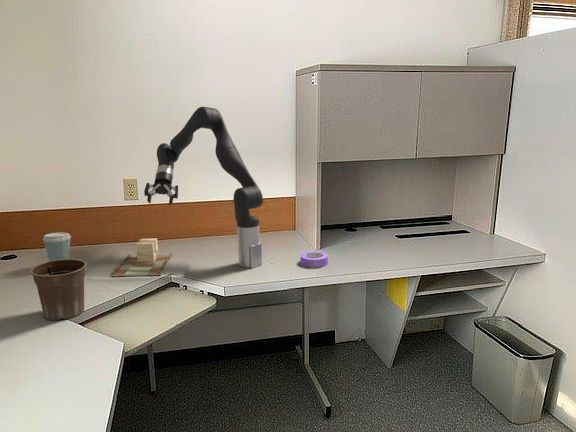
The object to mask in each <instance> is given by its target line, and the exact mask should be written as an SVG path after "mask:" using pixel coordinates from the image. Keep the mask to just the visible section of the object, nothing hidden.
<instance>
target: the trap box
mask: <svg viewBox="0 0 576 432" xmlns="http://www.w3.org/2000/svg"><path fill="white" fill-rule="evenodd" d="M172 256H173V253H169V255H165V254H164V255H158V257H157V258H156V259H155V261H154V262H137V255H134V256H133V255H132V256H131V254H128V255H127V256H126V257H124V259H123V260H122V261H121V262H120V263H119V264H118V265H117V266H116V267H115V269H113V270H112V272H111V278H142V277H143V278H145V277H161V276H162V274H161V273H162V271H163V270H164V268H165V267H166V265H167V263H168V262H169V261H170V259H171V258H172ZM156 262H163V263H162V265H161V266H154V265H155V264H156ZM125 263H133V264H132V265H131V266H130V267H122V266H124V264H125Z"/></svg>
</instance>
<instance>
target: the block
mask: <svg viewBox="0 0 576 432" xmlns="http://www.w3.org/2000/svg"><path fill="white" fill-rule="evenodd" d="M135 250H136V256H137V262H154V261H155V259H156V258H157V257H158V256H159V247H158V238H155V237H154V238H140V239H139V240H138V241H137V242H136V243H135Z"/></svg>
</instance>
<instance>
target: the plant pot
mask: <svg viewBox="0 0 576 432" xmlns="http://www.w3.org/2000/svg"><path fill="white" fill-rule="evenodd" d="M86 267H87V262H86V261H84V260H83V259H82V260H81V259H78V258H69V259H62V260H54V261H47V262H42V263H40V264H38V265H34V266H33V267H32V268H31V269H30V275H32V277H33V281H34V284H35V285H36V289H37V293H38V296H39V302H40V306H41V309H42V310H41V311H42V313H43V317H44V318H45V319H46V320H49V321H60V320H62V319H64V320H70V319H72V318H75V317H78V316H80V315H82V314H83V312H84V311H85V277H86Z"/></svg>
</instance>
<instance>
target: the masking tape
mask: <svg viewBox="0 0 576 432" xmlns="http://www.w3.org/2000/svg"><path fill="white" fill-rule="evenodd" d="M300 265H301V266H303V267H306V268H315V269H317V268H323V267H326V266H328V265H329V255H328V253H327V252H324V251H320V250H310V251H305V252H302V253H301V254H300Z"/></svg>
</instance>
